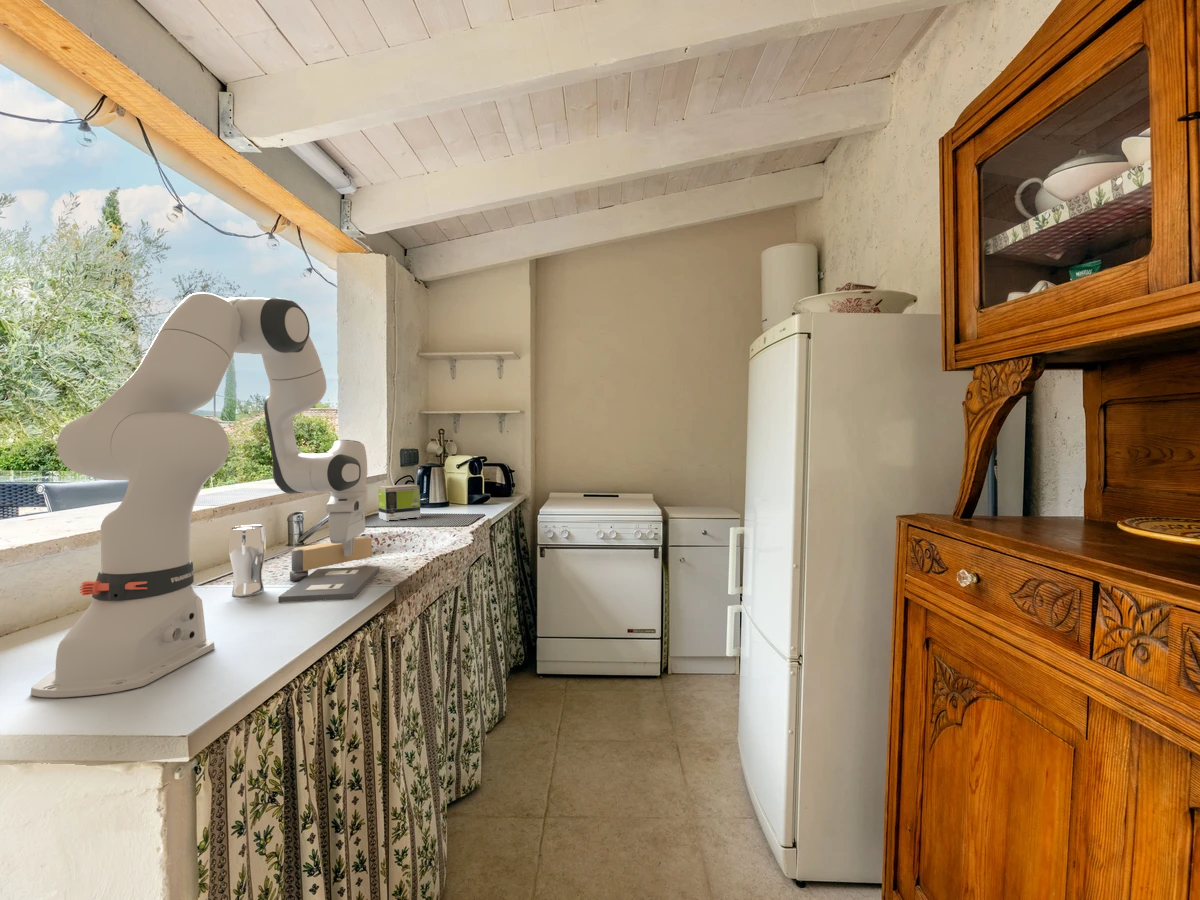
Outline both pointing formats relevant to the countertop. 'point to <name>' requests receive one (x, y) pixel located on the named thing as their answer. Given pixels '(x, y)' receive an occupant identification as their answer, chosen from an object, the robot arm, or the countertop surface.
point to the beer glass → (247, 559)
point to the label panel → (330, 584)
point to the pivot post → (298, 575)
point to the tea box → (399, 502)
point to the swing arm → (328, 554)
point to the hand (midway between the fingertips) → (348, 555)
